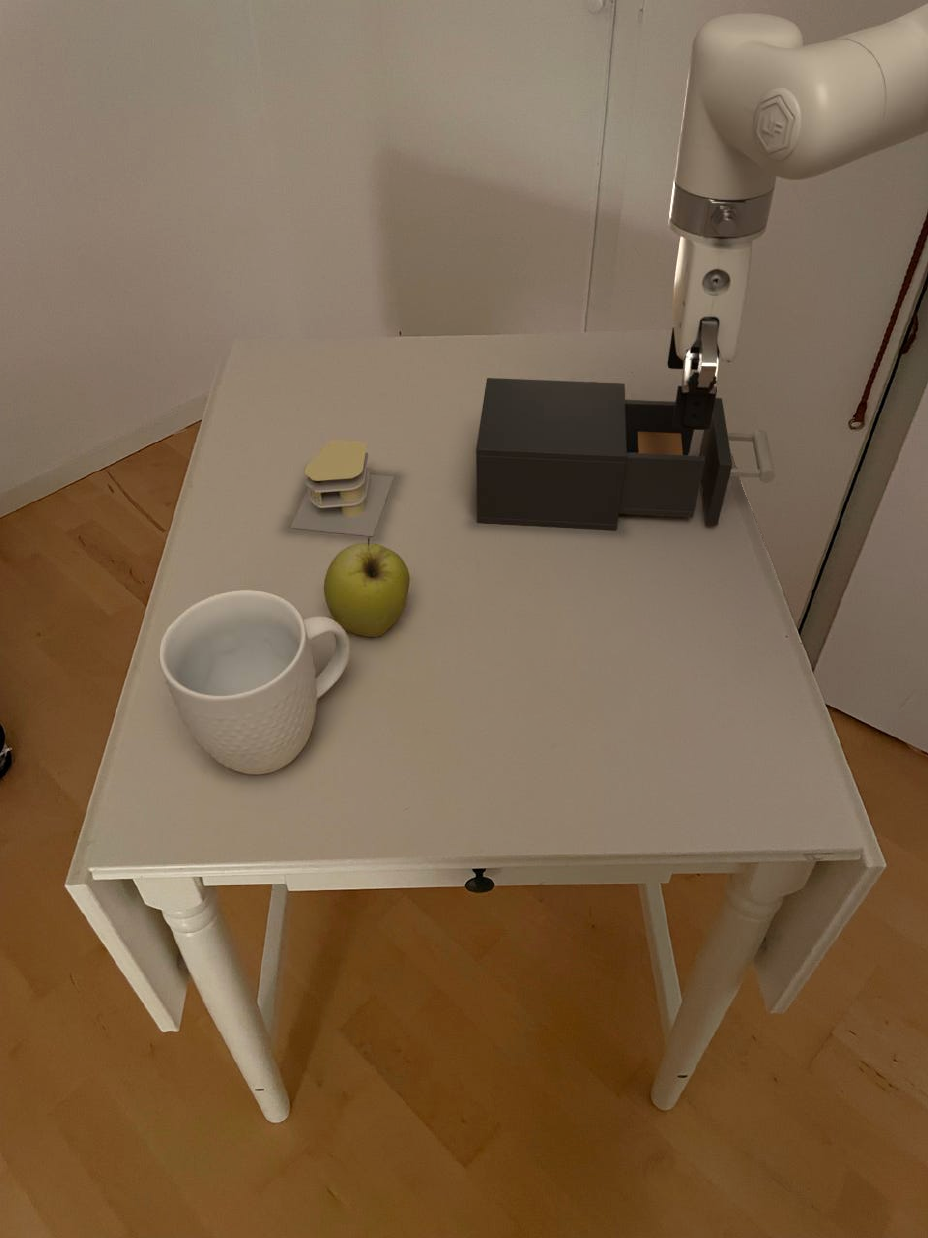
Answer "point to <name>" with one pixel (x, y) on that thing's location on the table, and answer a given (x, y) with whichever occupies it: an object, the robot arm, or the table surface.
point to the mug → (248, 676)
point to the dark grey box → (551, 453)
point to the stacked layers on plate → (342, 491)
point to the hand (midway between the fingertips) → (687, 396)
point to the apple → (366, 588)
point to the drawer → (683, 464)
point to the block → (659, 443)
